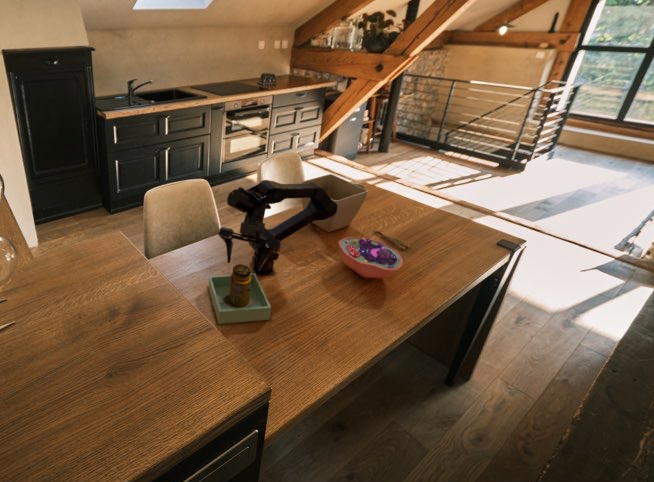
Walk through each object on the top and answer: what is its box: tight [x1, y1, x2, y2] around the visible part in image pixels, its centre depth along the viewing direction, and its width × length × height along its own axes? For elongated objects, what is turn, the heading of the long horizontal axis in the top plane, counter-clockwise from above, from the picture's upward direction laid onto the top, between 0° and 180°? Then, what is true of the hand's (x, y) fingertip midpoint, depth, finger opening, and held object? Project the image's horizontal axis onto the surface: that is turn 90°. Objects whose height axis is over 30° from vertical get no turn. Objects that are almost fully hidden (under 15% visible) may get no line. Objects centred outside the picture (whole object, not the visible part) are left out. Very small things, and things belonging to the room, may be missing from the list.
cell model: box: [338, 236, 404, 280], centre depth 130 cm, size 17×20×11 cm
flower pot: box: [299, 173, 369, 233], centre depth 158 cm, size 19×19×17 cm
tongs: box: [374, 230, 410, 251], centre depth 148 cm, size 4×13×2 cm, turn 35°
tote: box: [207, 272, 272, 325], centre depth 117 cm, size 15×15×5 cm
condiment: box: [219, 263, 254, 309], centre depth 115 cm, size 7×8×12 cm
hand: (243, 266), depth 115 cm, fingers open, 9 cm apart
